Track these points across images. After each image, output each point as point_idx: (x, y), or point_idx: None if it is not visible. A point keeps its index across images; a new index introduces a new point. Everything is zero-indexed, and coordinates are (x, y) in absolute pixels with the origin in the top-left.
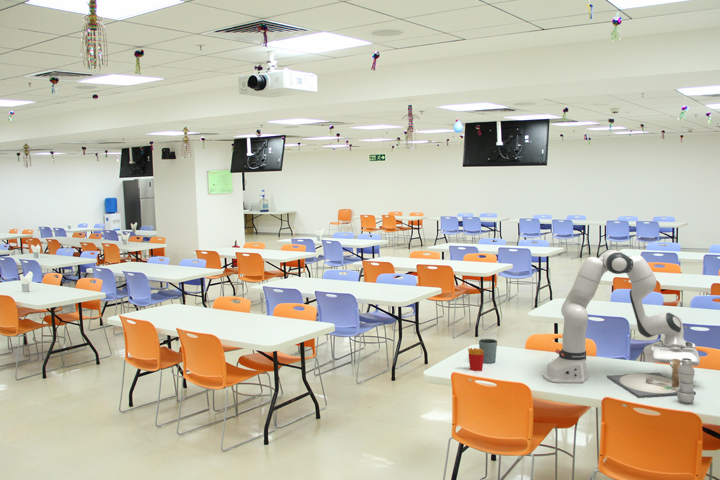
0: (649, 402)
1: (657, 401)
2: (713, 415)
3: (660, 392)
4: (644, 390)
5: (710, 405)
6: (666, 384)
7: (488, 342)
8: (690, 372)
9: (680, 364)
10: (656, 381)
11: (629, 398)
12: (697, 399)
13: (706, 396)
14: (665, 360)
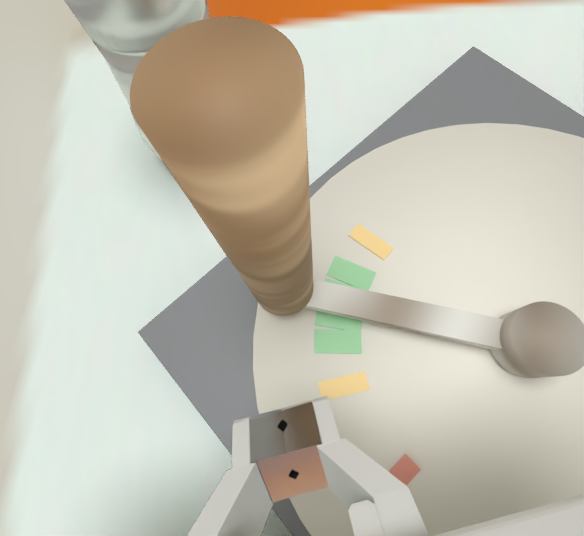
0: (389, 35)
1: (354, 71)
2: (68, 47)
3: (369, 164)
4: (478, 141)
5: (67, 175)
6: (362, 295)
7: None
8: None
9: (212, 533)
10: (464, 332)
11: (507, 30)
12: (137, 237)
13: (75, 338)
14: (539, 511)
